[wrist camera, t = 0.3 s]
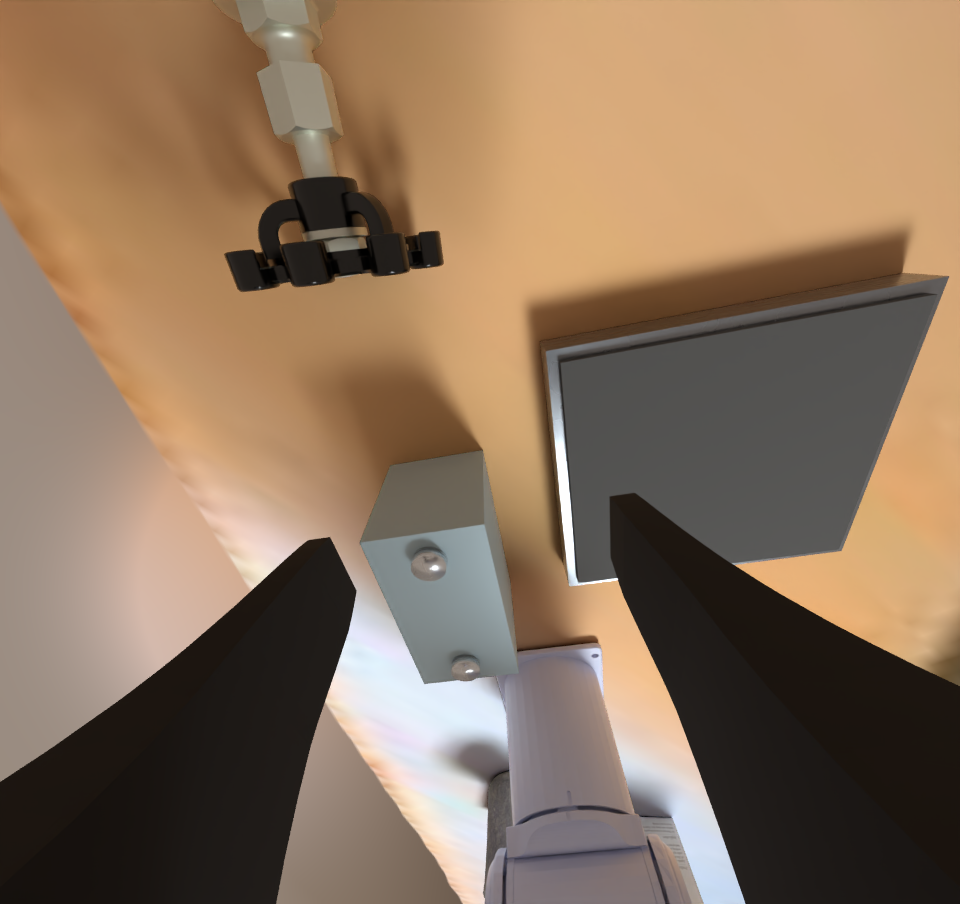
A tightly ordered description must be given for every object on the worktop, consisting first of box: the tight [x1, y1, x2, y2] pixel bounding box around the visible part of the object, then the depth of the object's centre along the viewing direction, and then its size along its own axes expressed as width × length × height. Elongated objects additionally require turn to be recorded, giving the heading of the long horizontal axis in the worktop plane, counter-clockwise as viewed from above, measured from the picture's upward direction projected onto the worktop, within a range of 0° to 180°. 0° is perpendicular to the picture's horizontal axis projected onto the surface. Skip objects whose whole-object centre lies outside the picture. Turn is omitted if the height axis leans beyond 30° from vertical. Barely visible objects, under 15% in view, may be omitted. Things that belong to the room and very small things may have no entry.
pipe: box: [483, 772, 513, 898], centre depth 36 cm, size 6×13×8 cm, turn 0°
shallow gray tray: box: [540, 273, 949, 586], centre depth 18 cm, size 14×15×2 cm
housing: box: [360, 450, 519, 684], centre depth 19 cm, size 10×5×6 cm, turn 11°
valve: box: [212, 0, 444, 292], centre depth 9 cm, size 7×7×12 cm
